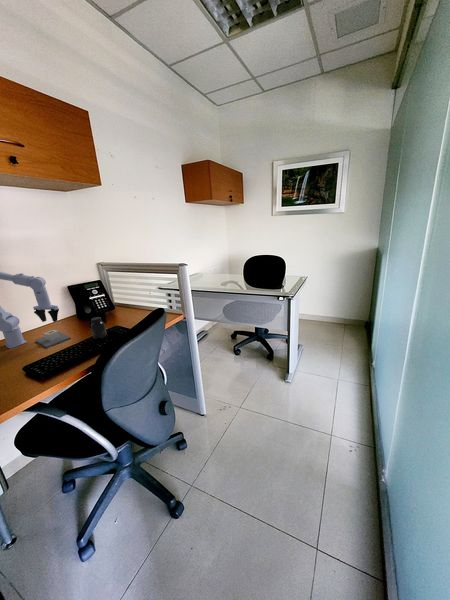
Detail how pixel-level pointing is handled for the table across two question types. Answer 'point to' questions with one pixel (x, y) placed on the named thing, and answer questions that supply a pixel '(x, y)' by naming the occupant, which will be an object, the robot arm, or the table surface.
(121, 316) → the table surface
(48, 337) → the collar
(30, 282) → the robot arm
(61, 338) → the junction plate
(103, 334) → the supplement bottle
